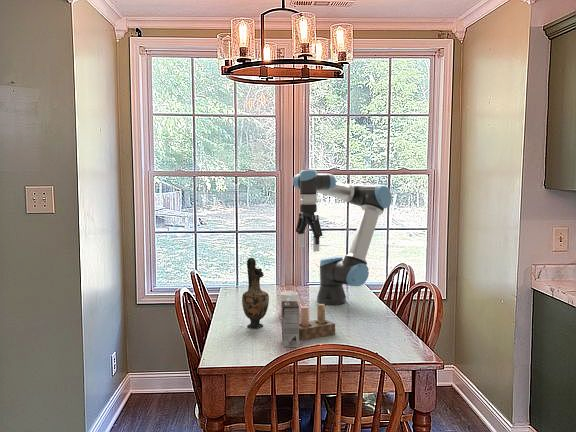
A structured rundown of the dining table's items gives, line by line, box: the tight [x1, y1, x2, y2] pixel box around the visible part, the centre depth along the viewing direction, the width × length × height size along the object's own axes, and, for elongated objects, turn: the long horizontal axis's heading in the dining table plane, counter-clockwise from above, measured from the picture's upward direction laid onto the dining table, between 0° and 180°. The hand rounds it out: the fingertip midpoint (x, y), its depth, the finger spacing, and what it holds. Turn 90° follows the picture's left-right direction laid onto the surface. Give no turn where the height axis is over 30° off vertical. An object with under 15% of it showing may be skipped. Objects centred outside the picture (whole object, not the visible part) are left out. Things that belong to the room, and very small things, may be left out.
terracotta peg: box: [300, 305, 310, 327], centre depth 227 cm, size 3×3×12 cm
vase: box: [241, 257, 270, 330], centre depth 241 cm, size 12×12×30 cm
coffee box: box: [280, 301, 300, 348], centre depth 217 cm, size 9×6×16 cm
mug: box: [279, 290, 299, 316], centre depth 258 cm, size 12×8×10 cm
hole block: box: [299, 318, 336, 341], centre depth 229 cm, size 16×9×4 cm, turn 118°
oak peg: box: [316, 303, 326, 325], centre depth 231 cm, size 3×3×12 cm
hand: (308, 249), depth 253 cm, fingers open, 13 cm apart
